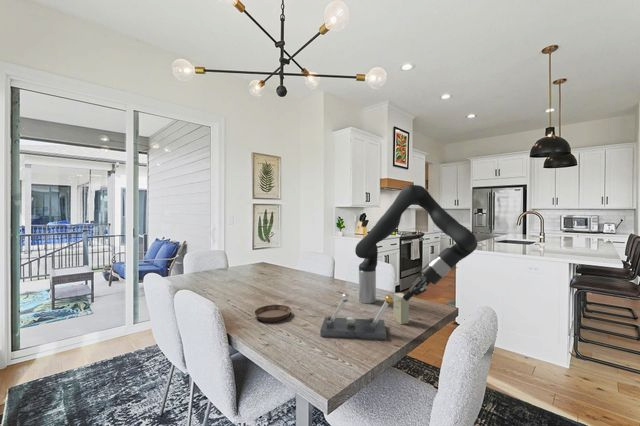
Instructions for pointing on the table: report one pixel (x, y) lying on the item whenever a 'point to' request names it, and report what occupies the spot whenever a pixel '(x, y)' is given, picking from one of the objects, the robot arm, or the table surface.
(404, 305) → the skincare box
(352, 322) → the push button
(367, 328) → the switch panel
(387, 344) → the table surface
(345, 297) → the white lever
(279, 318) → the plant saucer
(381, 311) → the lever handle
